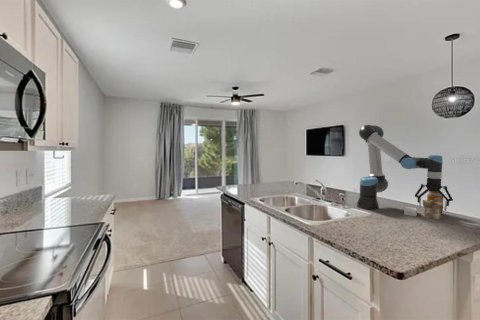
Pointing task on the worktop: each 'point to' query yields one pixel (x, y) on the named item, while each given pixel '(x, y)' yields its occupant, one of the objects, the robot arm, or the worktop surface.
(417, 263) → the worktop surface
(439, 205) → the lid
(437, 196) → the canister
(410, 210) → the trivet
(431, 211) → the box
